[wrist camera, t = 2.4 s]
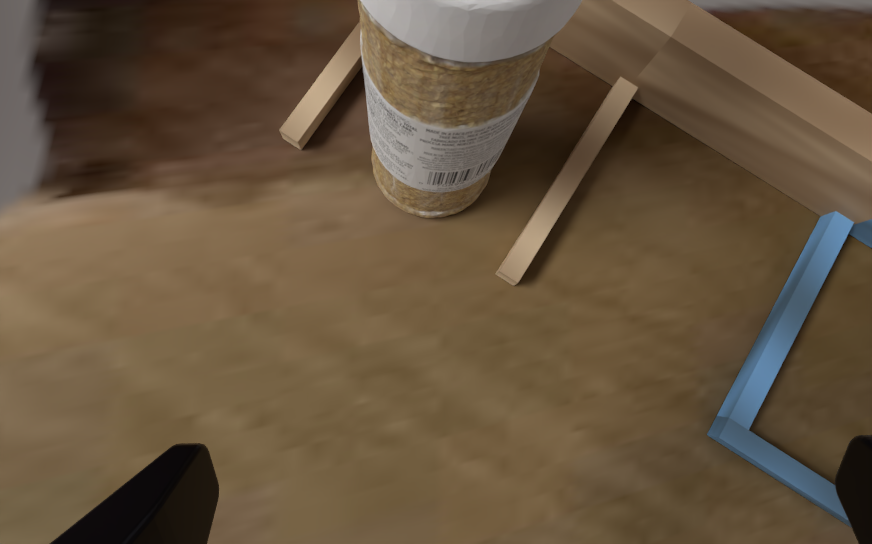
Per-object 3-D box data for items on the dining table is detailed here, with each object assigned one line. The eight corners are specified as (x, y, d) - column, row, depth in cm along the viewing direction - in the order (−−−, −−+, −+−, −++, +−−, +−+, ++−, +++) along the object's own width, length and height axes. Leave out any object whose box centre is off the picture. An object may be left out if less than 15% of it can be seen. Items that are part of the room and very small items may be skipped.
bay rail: (951, 591, 21) (1081, 644, 17) (268, 154, 22) (240, 107, 18) (1062, 326, 23) (1202, 318, 19) (431, -67, 24) (438, -154, 20)
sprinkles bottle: (482, 103, 23) (609, -270, 9) (496, 217, 22) (654, -9, 9) (364, 111, 22) (320, -267, 9) (374, 227, 21) (343, 5, 8)
